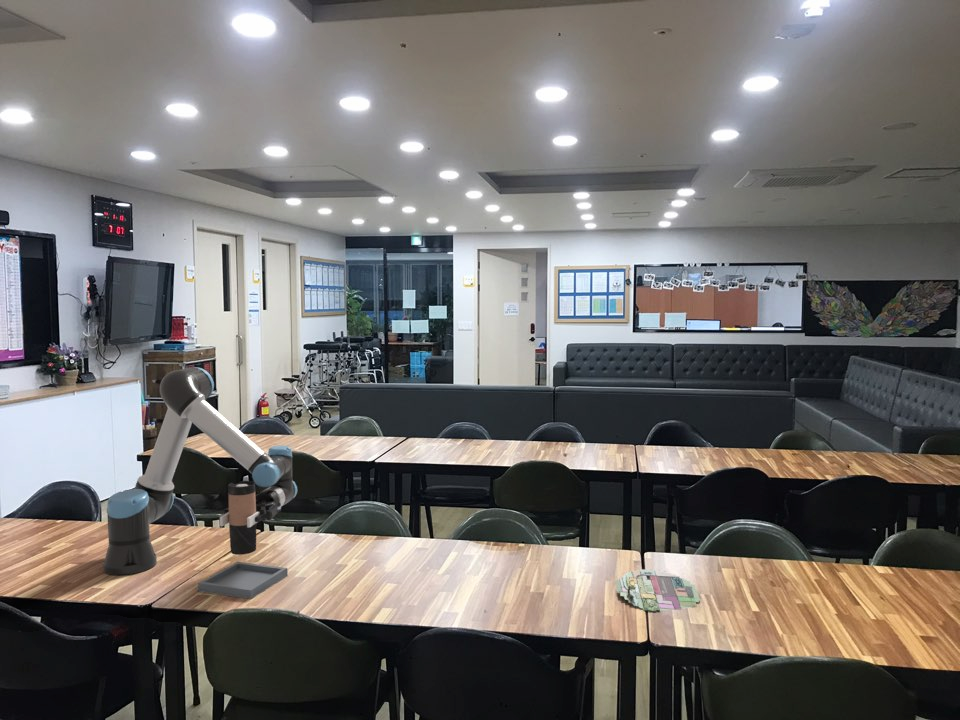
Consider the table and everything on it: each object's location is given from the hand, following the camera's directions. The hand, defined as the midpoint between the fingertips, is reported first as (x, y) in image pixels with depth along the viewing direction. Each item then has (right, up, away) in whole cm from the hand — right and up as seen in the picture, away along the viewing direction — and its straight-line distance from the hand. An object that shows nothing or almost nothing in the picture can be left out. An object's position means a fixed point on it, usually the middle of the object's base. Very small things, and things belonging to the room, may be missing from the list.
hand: (234, 522), depth 202 cm
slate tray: (+1, -20, +6) cm, 20 cm away
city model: (+120, -20, -4) cm, 122 cm away
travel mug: (+1, -10, +5) cm, 11 cm away
